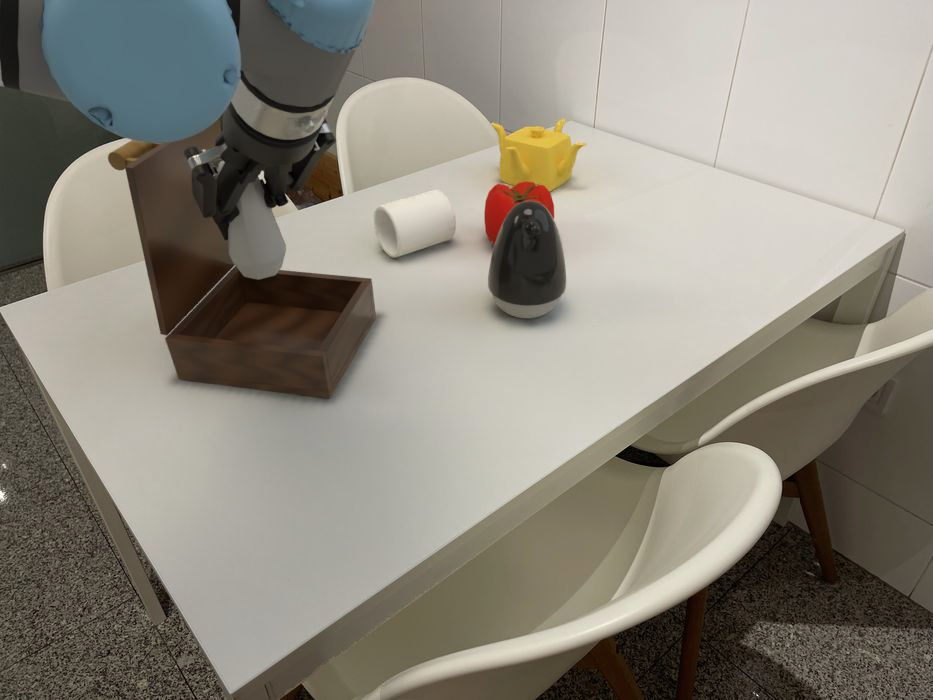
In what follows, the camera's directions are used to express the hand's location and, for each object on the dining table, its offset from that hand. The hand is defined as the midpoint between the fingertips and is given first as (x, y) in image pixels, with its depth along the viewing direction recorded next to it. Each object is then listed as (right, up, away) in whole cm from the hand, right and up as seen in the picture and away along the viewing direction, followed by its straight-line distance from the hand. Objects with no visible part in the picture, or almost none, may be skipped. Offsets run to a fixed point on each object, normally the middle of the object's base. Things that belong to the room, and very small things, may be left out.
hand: (239, 223), depth 75 cm
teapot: (+37, +18, +54) cm, 68 cm away
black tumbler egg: (+32, -8, +19) cm, 38 cm away
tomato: (+33, +3, +34) cm, 47 cm away
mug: (+15, +3, +35) cm, 38 cm away
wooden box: (+1, -13, +13) cm, 18 cm away
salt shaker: (+2, -5, 0) cm, 6 cm away
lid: (-7, +1, +4) cm, 8 cm away
